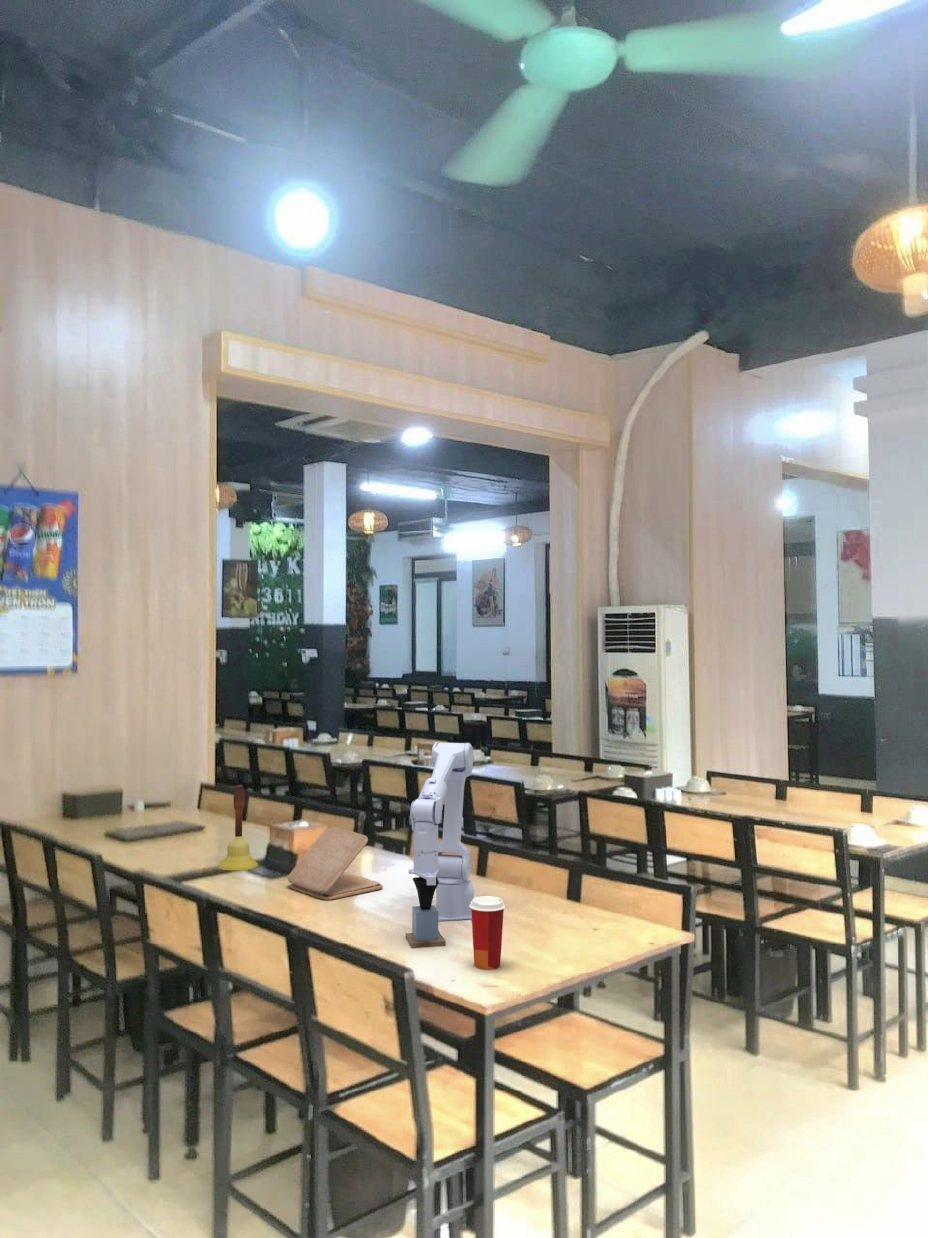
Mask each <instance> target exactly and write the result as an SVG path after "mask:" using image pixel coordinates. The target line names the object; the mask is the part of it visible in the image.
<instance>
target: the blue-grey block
mask: <svg viewBox="0 0 928 1238" xmlns="http://www.w3.org/2000/svg"><path fill="white" fill-rule="evenodd" d="M411 909H412V912H411V915H412V916H411V922H412V923H411V925H412V926H411V927H412V928H411V933H412V935H413V937H414V939H415V940H416V941H429V940H438V931H439V921H438V910H437V908H436V905H435V904H432V905H431V909H427V910H421V908H420V905H416V906H415V905H414V906H412V908H411Z"/></svg>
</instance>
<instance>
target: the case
mask: <svg viewBox="0 0 928 1238" xmlns="http://www.w3.org/2000/svg"><path fill="white" fill-rule="evenodd" d="M368 842H369V838H368V836H367V835H366V834H362V833H359V832H356V831H352V830H348V829H343V828H339V827H335V826H330V827H328V828H326V829H325V830H324V831H323V832H322V833H321V835H320V836H319V837H318V838H317V839H316V841H315V842H314V843H313V844H312V845H311V847H310V849H308V851H307V852H305V855H304V856H302V858H301V859H300V860H299V862H298V863H297V865H295V866H294V868H292V871H290V873H289V874H288V876H287V880H288V882H289V883H291V884H290V885H289V888H290V889H292V890H294V891H297V892H300V893H303V894H305V895H308V896H310V897H311V896H312V897H314V898H315V899H316V898H317V899H319V900H323V901H334V900H337V899H342V898H343V899H344V898H348V897H351V896H356V895H361V894H365V893H371V892H375V891H380V890H382V889H383V888H384V886H383V884H381V883H380V882H379V881H376V880H371V879H369V878H366V877H364V876H359V875H356V874H352V873H349V872H345V871H346V870H347V869H348V868H349V866H351V864H352V863H353V861H354V860H355V859H356V857H358V855H359V854H360V853H361V851H362V850H363V849H364V848H365V847H366V845H367V844H368Z"/></svg>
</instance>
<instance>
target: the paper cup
mask: <svg viewBox="0 0 928 1238" xmlns="http://www.w3.org/2000/svg"><path fill="white" fill-rule="evenodd" d="M469 907H470V908H471V913H472V919H471V928H472V931H471V932H472V945H473V946H472V947H473V949H472V951H473V962H474V963H473V964H474V967H475V968H477V969H479V970H489V971H490V970H495V969H498V968H499V967H500V965H501V959H502V946H503V945H502V942H503V929H504V910H505V908H506V905H505V904H504V900H503V899H502V898H501V897H497V896H490V895H488V896H487V895H486V896H485V895H483V896H476V897H474V899H473V900H472V901H471V904H470V905H469Z"/></svg>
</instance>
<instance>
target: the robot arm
mask: <svg viewBox="0 0 928 1238" xmlns="http://www.w3.org/2000/svg"><path fill="white" fill-rule="evenodd" d="M473 749H474V748H473V746H472V744H471V742H440V741H436V742H434V744H433V745H432V748H431V762H432V764H433V770H432V775H431V777H428V778H427V779H426V780H425V781H424V784H423V786H422V788H421V791H420V793H419V796H418V798H417V799H416V798H415V800H413V801H412V802H411V804H410V810H409V811H410V813H409V816H410V822H411V831H412V832H413V868H410V869H407V870H408V874H409V875H415V876H417V877H412V881H413V883H414V885H415V889H416V892H417V896H418V902H419V903H418V904H419V906H420V908H421V910H427V909H431V905H433V899H434V895H435V896H436V897H435V907H436V908H437V910H438V922H441V921H443V922H444V921H459V920H460V921H461V920H472V913H471V908H470V907H469V905H470V904H471V901H472V900H473V899H474V898H475V892H474V891H475V890H474V884H473V882H472V880H469V879H470V877H471V873H472V859H471V855H472V854H471V853H472V852H471V851H470V849H469V848H468V847H467V846H466V845H465V844H464V843H463V842H462V841H461V839H462V827H463V825H462V824H463V811H464V810H463V809H464V793H465V784H466V783H465V782H466V779H467V777H470V776H472V774H473V769H474V768H473V766H474V750H473ZM443 802H444V806H443ZM443 807H444V811H443ZM442 811H443V812H442ZM442 815H443V826H442V838H441V839H442V840H441V842H439V824H440V823H441V821H442ZM445 853H446V854H445ZM457 854H459V855H457Z"/></svg>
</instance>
